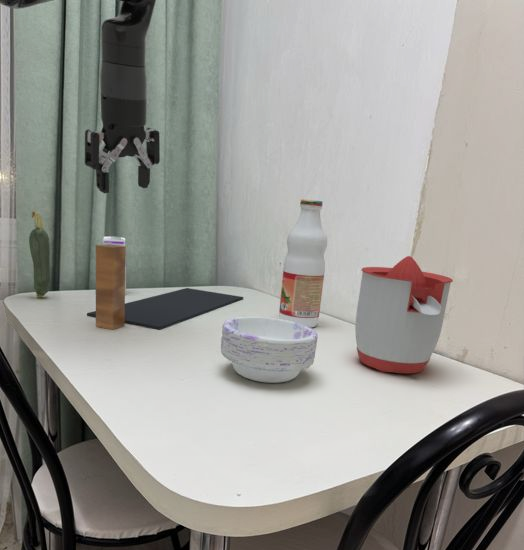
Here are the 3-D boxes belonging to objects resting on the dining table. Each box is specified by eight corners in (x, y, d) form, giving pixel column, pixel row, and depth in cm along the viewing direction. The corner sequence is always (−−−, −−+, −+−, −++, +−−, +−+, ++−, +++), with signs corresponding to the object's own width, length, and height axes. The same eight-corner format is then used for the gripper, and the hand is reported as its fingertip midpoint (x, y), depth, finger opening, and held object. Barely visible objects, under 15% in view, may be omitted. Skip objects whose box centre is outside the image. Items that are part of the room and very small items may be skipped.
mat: (159, 329, 102) (159, 326, 102) (86, 315, 108) (86, 313, 108) (243, 299, 142) (243, 296, 142) (186, 289, 148) (186, 287, 148)
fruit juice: (309, 330, 113) (324, 201, 105) (271, 323, 117) (283, 197, 109) (323, 323, 121) (338, 202, 113) (287, 316, 125) (299, 199, 117)
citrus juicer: (376, 383, 82) (396, 260, 77) (335, 351, 98) (349, 248, 93) (458, 383, 87) (483, 266, 81) (406, 352, 103) (424, 253, 97)
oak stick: (112, 329, 99) (113, 247, 95) (95, 326, 100) (95, 245, 96) (124, 326, 103) (125, 246, 98) (108, 322, 104) (108, 244, 100)
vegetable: (55, 298, 121) (52, 212, 115) (39, 300, 117) (36, 212, 112) (43, 295, 123) (40, 210, 117) (27, 297, 119) (23, 210, 114)
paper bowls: (331, 381, 81) (338, 334, 79) (258, 397, 72) (263, 343, 70) (271, 354, 93) (275, 312, 90) (201, 365, 83) (203, 318, 81)
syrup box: (126, 295, 132) (126, 239, 128) (102, 294, 131) (102, 237, 127) (125, 291, 138) (126, 237, 133) (102, 290, 136) (103, 235, 132)
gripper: (144, 90, 92) (143, 180, 101) (73, 87, 82) (78, 187, 91) (171, 98, 88) (167, 191, 97) (99, 97, 79) (101, 200, 87)
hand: (123, 189), depth 94 cm, fingers open, 8 cm apart
